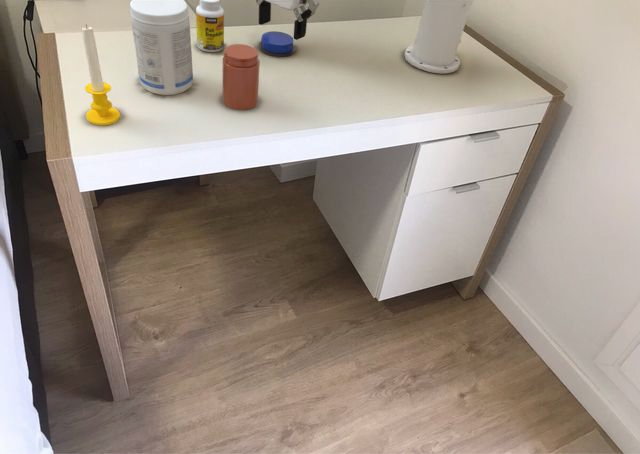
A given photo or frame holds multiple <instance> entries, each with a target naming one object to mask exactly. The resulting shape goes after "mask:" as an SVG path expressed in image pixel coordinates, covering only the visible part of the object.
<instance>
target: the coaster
mask: <svg viewBox="0 0 640 454" xmlns="http://www.w3.org/2000/svg"><path fill="white" fill-rule="evenodd" d="M258 51H260V52H261V53H262V54H264V55H267V56H269V57H274V58H287V57H291V56H292V55H294V54H295V52H296V46H295V44H293V49H292V50H291V51H290V52H288V53H283V54H278V53H272V52H268V51H266V50H264V49H263V48H262V46H261V41H259V43H258Z"/></svg>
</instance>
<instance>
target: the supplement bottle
mask: <svg viewBox="0 0 640 454" xmlns="http://www.w3.org/2000/svg"><path fill="white" fill-rule="evenodd" d="M195 8H196V9H195V20H196V21H195V22H196V24H195V25H196V27H195V28H196V46H197V48H198V49H200V50H201V51H203V52H207V53H217V52H220V51H222V50H223V49H224V48H225V47H224V46H225V10H224V8H223V7H222V6H221V0H199V4H198V5H197V6H196V7H195Z"/></svg>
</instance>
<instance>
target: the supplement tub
mask: <svg viewBox="0 0 640 454" xmlns="http://www.w3.org/2000/svg"><path fill="white" fill-rule="evenodd" d="M129 4H130V5H129V8H130V11H129V13H130V21H131V22H130V23H131V29H132V35H133V36H132V37H133V43H134V49H135V56H136V57H135V58H136V64H137V70H138V78H139V82H140V85H141V86H142V87H143V89H145V90H147V92H150V93H153V94H156V95H163V96H164V95H165V96H172V95H177V94H180V93H183V92H185V91H187V90H189V89H190V88H191V87H192V85H193V83H194V72H193V71H194V69H193V53H192V38H191V24H190V22H191V21H190V12H189V7H188V4H187V2H186V1H185V0H131V1H130V3H129Z"/></svg>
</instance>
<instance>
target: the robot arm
mask: <svg viewBox="0 0 640 454" xmlns="http://www.w3.org/2000/svg"><path fill="white" fill-rule="evenodd" d="M255 2H256V4H257V5H258V25H261V26H262V25H265V24H268V23H270V22H271V21H272V20H271V19H272V5H274V6H277V7H280V8H282V9H284V10H287V11H293V13H294V15H295V17H296V20H294V24H293V40H294V41H298V40H300V39H302V38H304V37H305V36H306V34H307V25H308V19H310V18H311V17H312V16H313V15H314V14H316V11H317V10H318V7H319V6H320V2H319V0H256V1H255ZM473 2H474V0H425V2H424V6H423V10H422V13H421V17H420V20H419V25H418V29H417V32H416V37H415V40H414V43H413V45H409V46H408V47H407V48H406V49H405V51H404V58H405V60H406V62H407V63H409V64H410V65H411V66H413V67H415V68H417V69H419V70H422V71H424V72H428V73H433V74H441V75H442V74H451V73H454V72H456V71H457V70H458V69H459V67H460V64H461V61H460V59H459V57H458V56H457V52H458V47H459V46H460V44H461V43H462V35H463V32H464V29H465V26H466V23H467V20H468V17H469V13H470V11H471V9H472V4H473ZM307 4H308V7H307Z"/></svg>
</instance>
